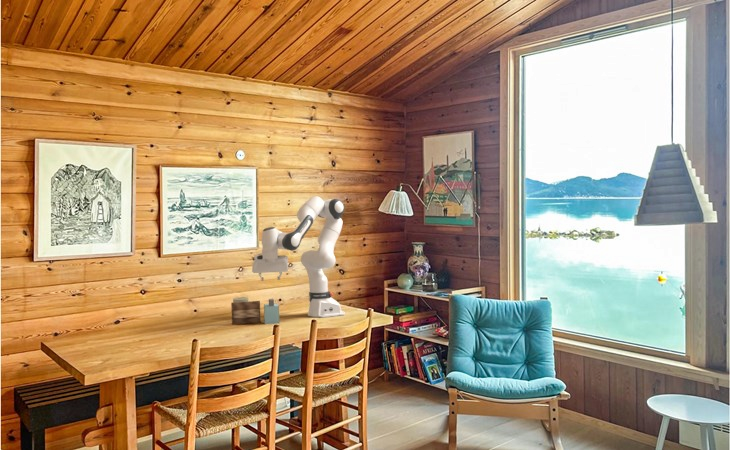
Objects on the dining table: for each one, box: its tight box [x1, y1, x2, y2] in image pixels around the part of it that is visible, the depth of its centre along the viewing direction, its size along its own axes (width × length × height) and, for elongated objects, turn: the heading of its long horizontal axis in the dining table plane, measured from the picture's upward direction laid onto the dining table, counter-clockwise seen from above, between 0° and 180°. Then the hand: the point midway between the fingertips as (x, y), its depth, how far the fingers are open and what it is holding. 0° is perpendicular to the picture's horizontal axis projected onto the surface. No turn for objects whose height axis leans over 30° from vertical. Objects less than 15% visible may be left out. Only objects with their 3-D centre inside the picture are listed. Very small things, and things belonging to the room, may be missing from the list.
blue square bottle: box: [263, 298, 280, 325], centre depth 335 cm, size 8×9×14 cm
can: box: [232, 296, 249, 303], centre depth 352 cm, size 9×9×12 cm
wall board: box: [230, 300, 261, 325], centre depth 334 cm, size 16×6×12 cm, turn 105°
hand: (270, 280), depth 333 cm, fingers open, 8 cm apart
